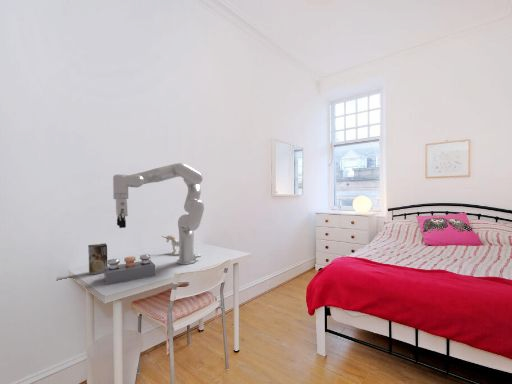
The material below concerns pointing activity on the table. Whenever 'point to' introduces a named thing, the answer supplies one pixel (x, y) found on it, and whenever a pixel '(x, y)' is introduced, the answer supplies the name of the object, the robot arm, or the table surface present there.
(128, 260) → the peach ball
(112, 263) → the steel plunger
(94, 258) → the coffee box
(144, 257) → the steel plunger
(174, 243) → the unicorn figurine
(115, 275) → the box
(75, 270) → the table surface
